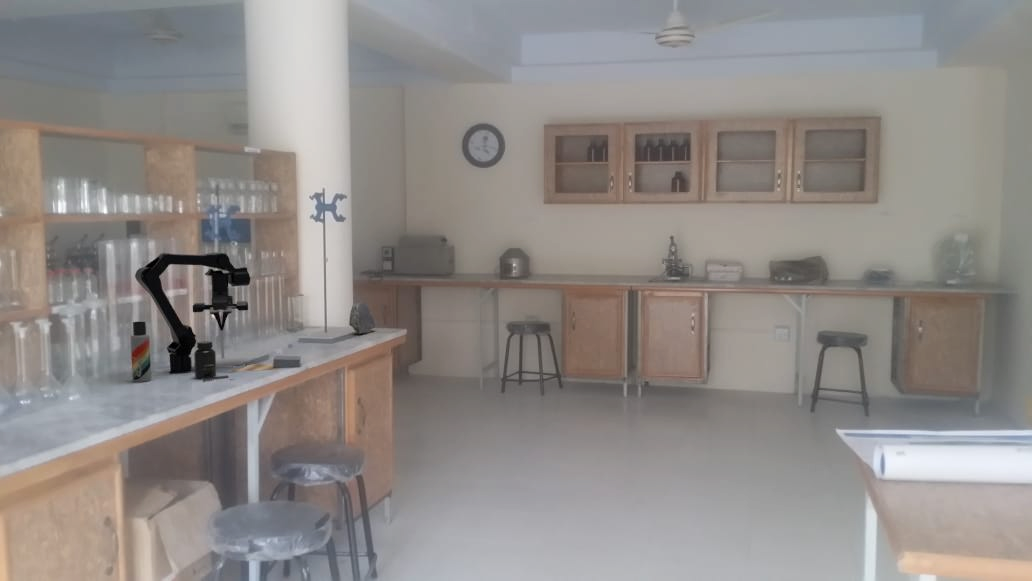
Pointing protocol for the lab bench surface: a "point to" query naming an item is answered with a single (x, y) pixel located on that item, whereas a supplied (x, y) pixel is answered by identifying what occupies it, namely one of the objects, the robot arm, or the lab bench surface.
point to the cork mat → (256, 367)
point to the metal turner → (215, 378)
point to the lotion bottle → (140, 353)
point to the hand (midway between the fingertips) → (221, 330)
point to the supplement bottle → (205, 360)
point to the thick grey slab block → (286, 361)
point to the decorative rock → (361, 318)
